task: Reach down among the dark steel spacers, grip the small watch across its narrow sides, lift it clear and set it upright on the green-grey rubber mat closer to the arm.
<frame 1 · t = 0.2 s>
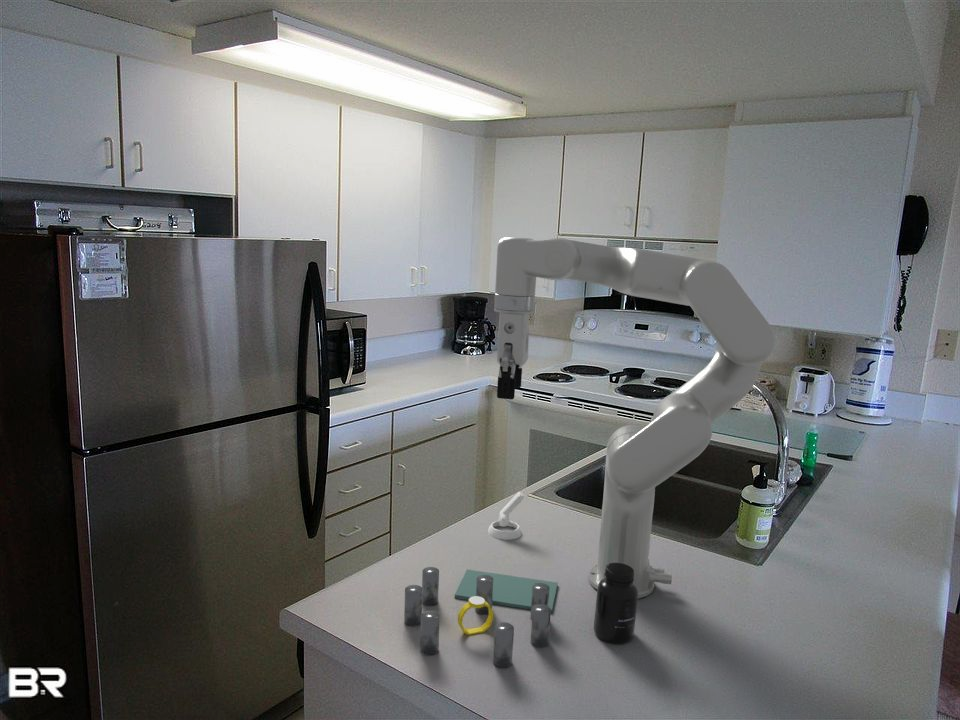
hand: (509, 392, 131), 36 cm above the counter, tool pointing down, fingers open, 9 cm apart
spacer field: (475, 631, 115), on the counter
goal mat: (507, 591, 129), on the counter
supplement bottle: (613, 634, 117), on the counter
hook: (504, 533, 154), on the counter
watch: (474, 632, 115), on the counter
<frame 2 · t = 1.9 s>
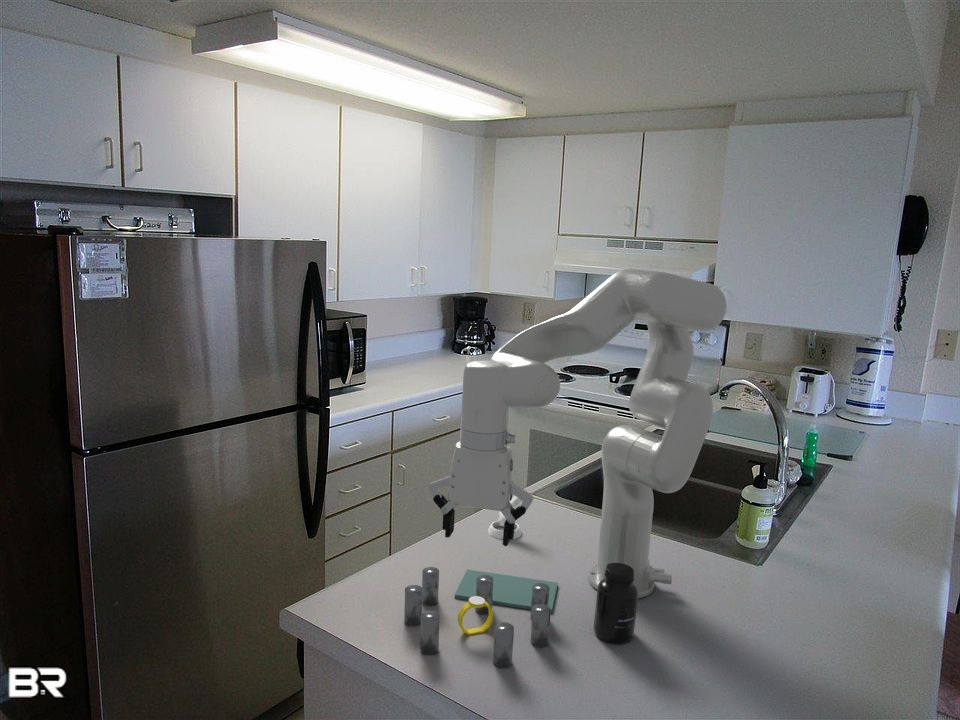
hand: (477, 538, 112), 17 cm above the counter, tool pointing down, fingers open, 9 cm apart
nothing on the counter moved.
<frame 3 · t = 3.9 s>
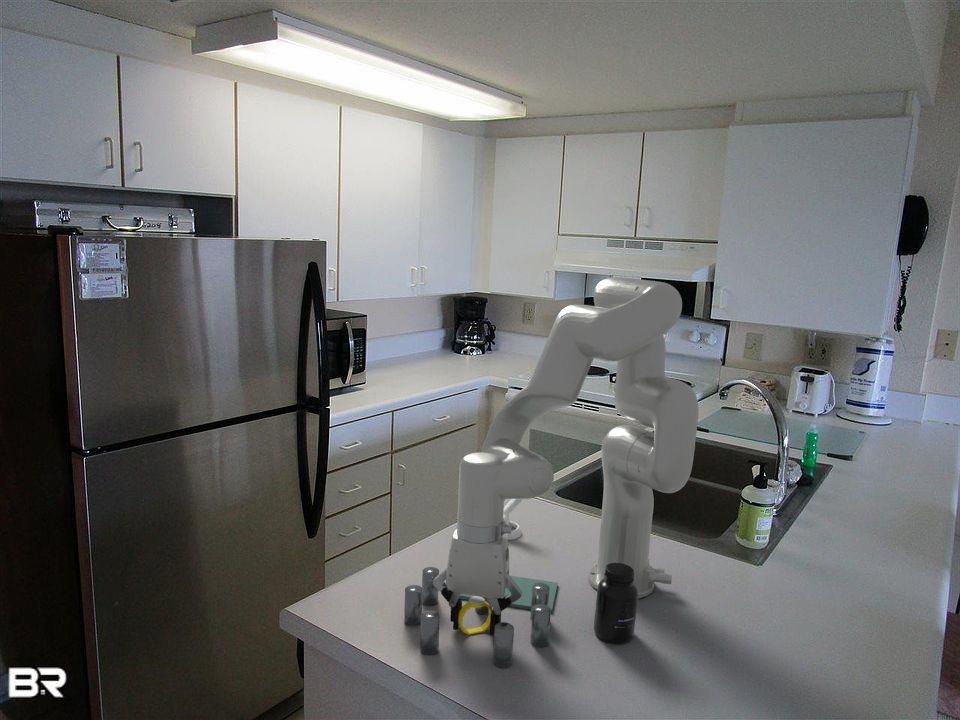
hand: (475, 627, 115), 1 cm above the counter, tool pointing down, fingers closed on watch, 5 cm apart
watch: (474, 632, 115), on the counter, touching gripper
everything else where it was.
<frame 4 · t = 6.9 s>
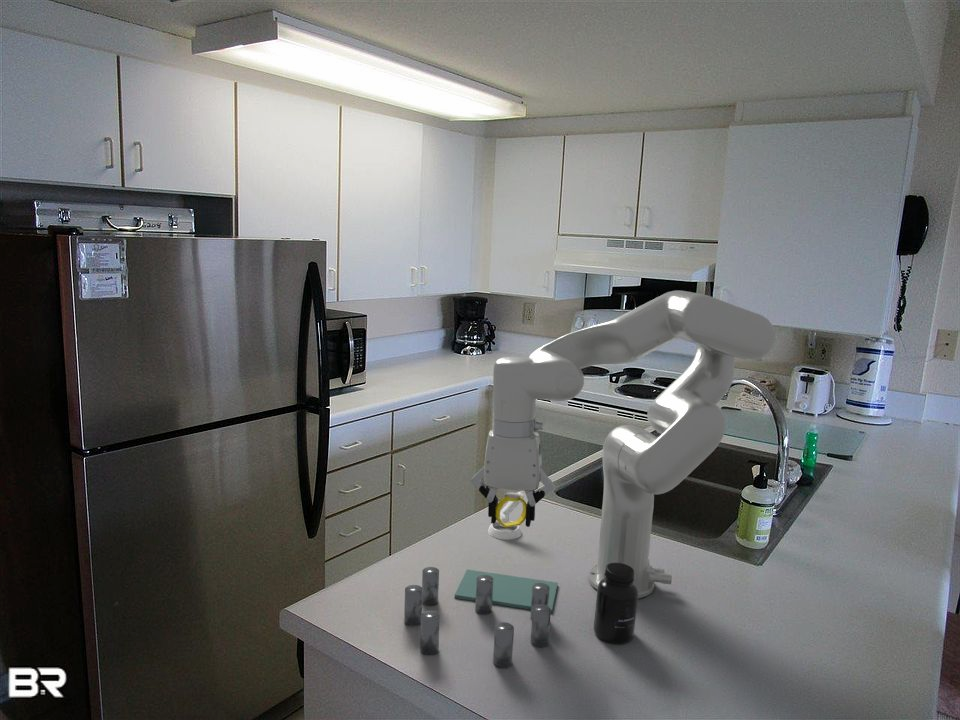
hand: (511, 521, 124), 15 cm above the counter, tool pointing down, fingers closed on watch, 5 cm apart
watch: (511, 526, 125), point 14 cm above the counter, touching gripper
everything else where it was.
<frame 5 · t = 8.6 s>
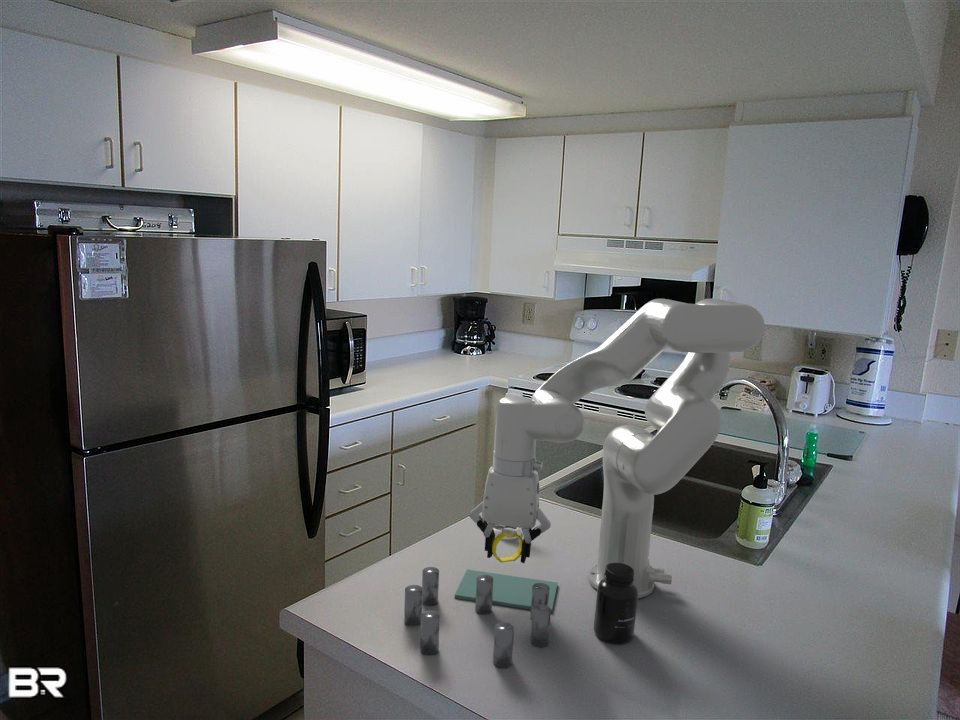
hand: (507, 556, 127), 7 cm above the counter, tool pointing down, fingers closed on watch, 5 cm apart
watch: (506, 561, 127), point 6 cm above the counter, touching gripper
everything else where it was.
when the fingers open (3 cm above the counter, at t = 9.9 s): watch drops 1 cm, resting on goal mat.
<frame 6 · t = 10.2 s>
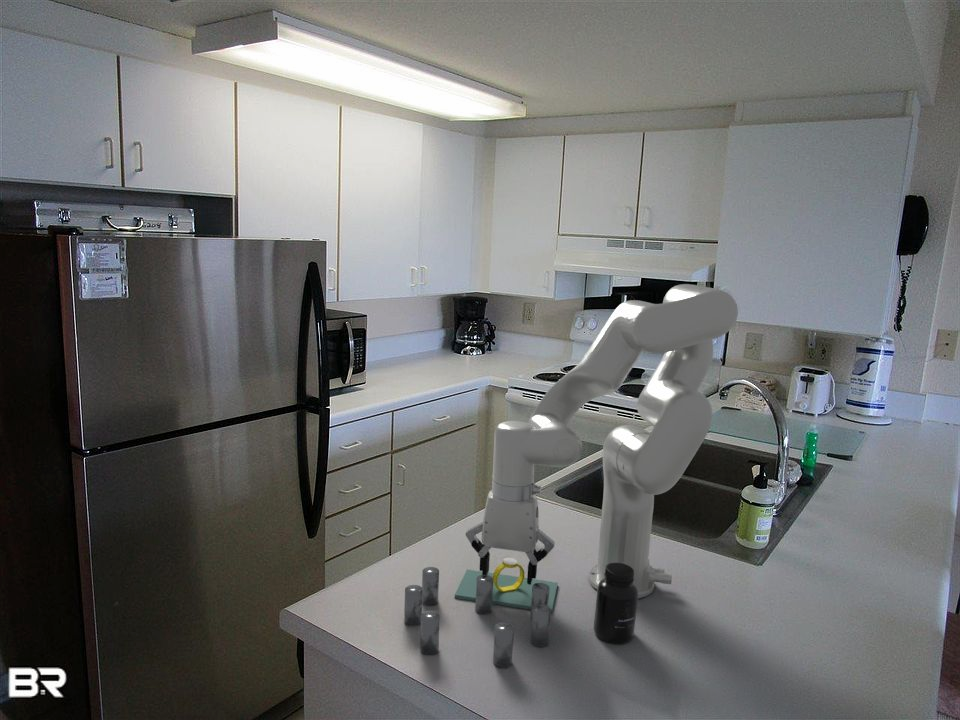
hand: (507, 577, 128), 3 cm above the counter, tool pointing down, fingers open, 8 cm apart
watch: (507, 590, 128), resting on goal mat
everything else where it was.
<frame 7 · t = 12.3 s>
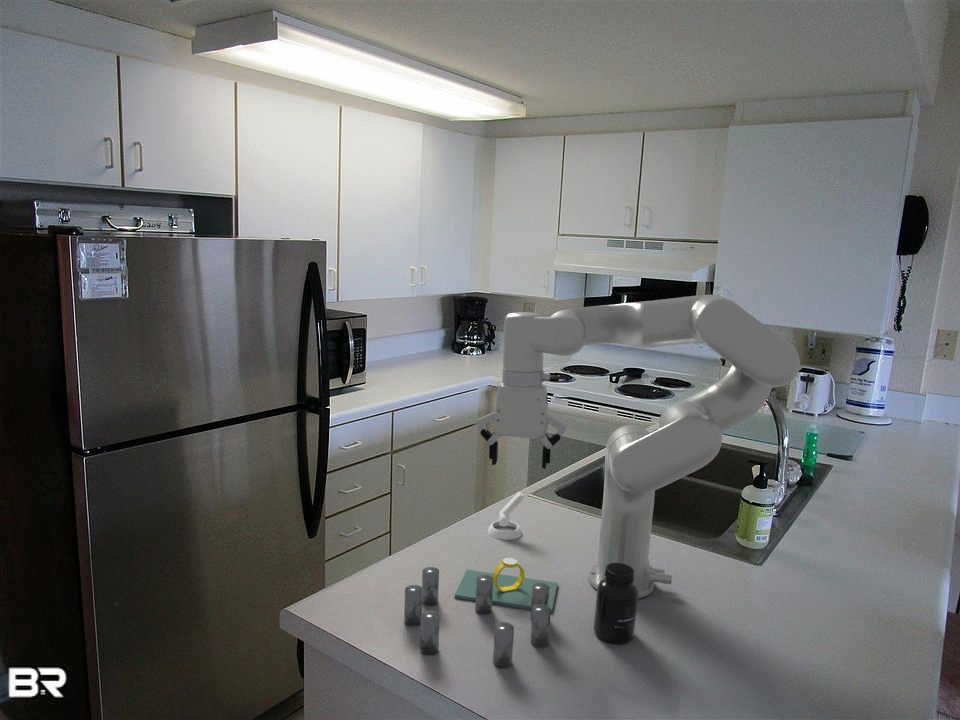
hand: (519, 464, 132), 23 cm above the counter, tool pointing down, fingers open, 9 cm apart
nothing on the counter moved.
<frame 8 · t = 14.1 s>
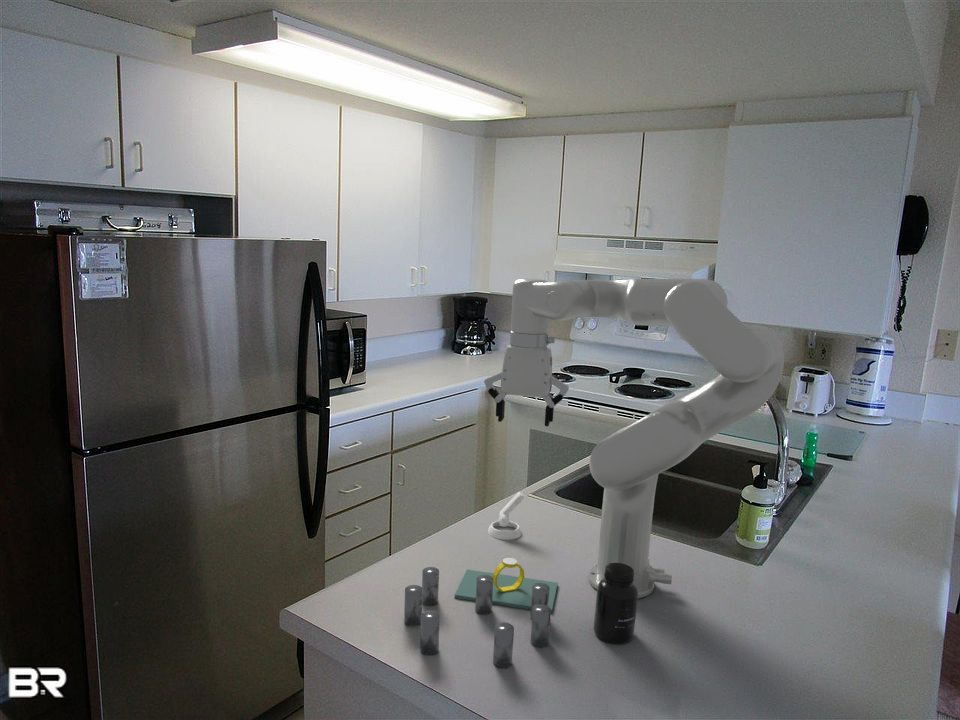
hand: (523, 422, 141), 28 cm above the counter, tool pointing down, fingers open, 9 cm apart
nothing on the counter moved.
at the end: watch inside the target area on the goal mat (0.4 cm from its centre), point 0.4 cm above the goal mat's base; watch tilted 0°; the gripper is holding nothing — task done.
